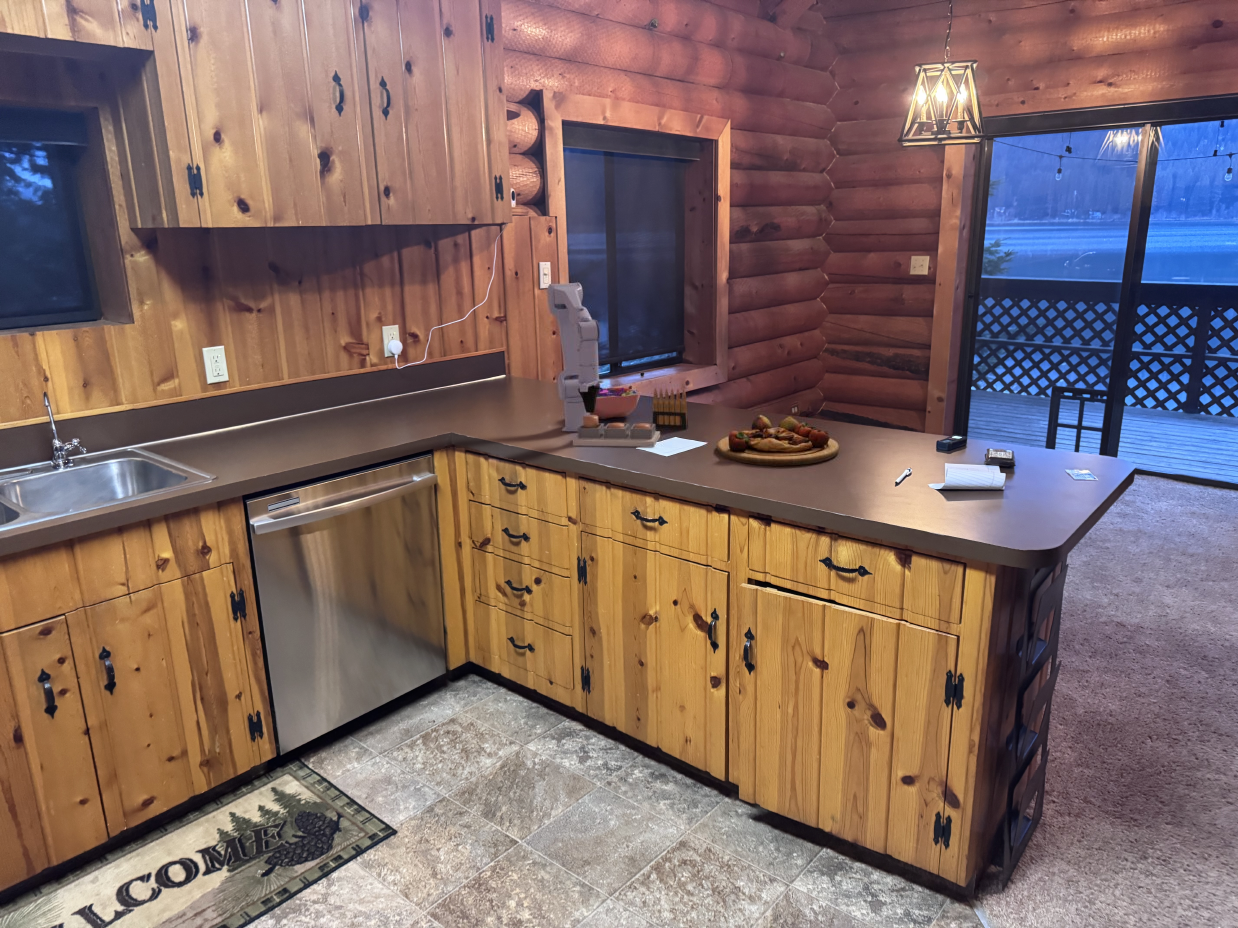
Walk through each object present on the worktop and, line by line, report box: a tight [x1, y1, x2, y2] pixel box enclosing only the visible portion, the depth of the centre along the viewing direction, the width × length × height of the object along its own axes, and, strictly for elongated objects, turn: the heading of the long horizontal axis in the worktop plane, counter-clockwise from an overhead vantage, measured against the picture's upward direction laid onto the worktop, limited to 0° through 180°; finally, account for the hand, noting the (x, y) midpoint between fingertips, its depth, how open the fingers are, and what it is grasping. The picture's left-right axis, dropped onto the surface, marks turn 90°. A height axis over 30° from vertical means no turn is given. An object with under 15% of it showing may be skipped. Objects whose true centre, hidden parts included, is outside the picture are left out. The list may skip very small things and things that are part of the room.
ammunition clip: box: [652, 388, 689, 430], centre depth 257 cm, size 11×2×12 cm, turn 69°
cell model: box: [590, 383, 642, 420], centre depth 273 cm, size 17×20×11 cm
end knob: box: [583, 415, 600, 428], centre depth 245 cm, size 4×4×3 cm
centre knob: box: [609, 422, 625, 428], centre depth 244 cm, size 4×4×3 cm
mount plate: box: [572, 423, 661, 448], centre depth 244 cm, size 12×23×4 cm, turn 79°
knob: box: [635, 422, 651, 429], centre depth 243 cm, size 4×4×3 cm
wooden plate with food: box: [716, 414, 840, 467], centre depth 228 cm, size 32×32×8 cm
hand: (590, 412), depth 244 cm, fingers closed
